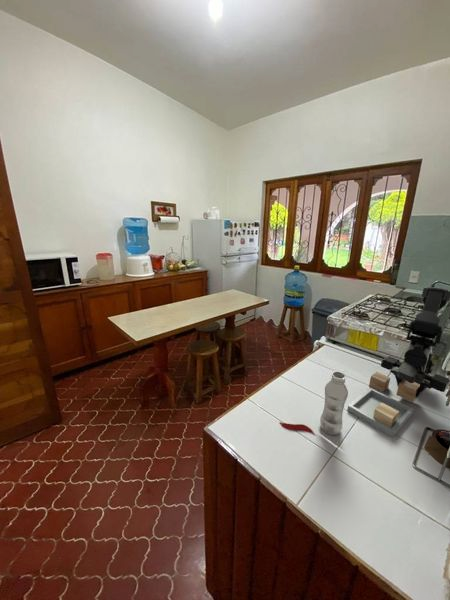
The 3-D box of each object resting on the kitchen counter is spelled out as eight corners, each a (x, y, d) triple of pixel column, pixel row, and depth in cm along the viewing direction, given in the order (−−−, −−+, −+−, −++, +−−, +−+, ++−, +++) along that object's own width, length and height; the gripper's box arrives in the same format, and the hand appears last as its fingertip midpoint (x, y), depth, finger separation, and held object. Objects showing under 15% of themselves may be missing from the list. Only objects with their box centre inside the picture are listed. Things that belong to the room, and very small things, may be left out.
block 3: (401, 389, 92) (404, 378, 91) (417, 396, 89) (421, 384, 87) (396, 394, 90) (399, 383, 88) (412, 402, 86) (415, 390, 84)
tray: (369, 393, 94) (370, 387, 94) (412, 415, 84) (413, 409, 83) (347, 411, 85) (348, 405, 85) (392, 438, 75) (393, 432, 74)
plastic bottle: (340, 424, 80) (349, 370, 74) (342, 441, 74) (352, 384, 68) (318, 419, 82) (326, 366, 76) (319, 435, 76) (327, 379, 70)
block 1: (374, 382, 101) (376, 371, 99) (387, 388, 97) (390, 377, 96) (368, 386, 98) (370, 376, 97) (382, 393, 94) (384, 382, 93)
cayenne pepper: (318, 433, 77) (319, 428, 77) (313, 443, 74) (314, 438, 73) (282, 416, 84) (282, 411, 83) (276, 425, 80) (276, 420, 80)
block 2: (379, 414, 83) (381, 402, 82) (395, 424, 79) (399, 411, 78) (372, 421, 80) (374, 409, 79) (389, 431, 76) (392, 418, 75)
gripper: (377, 350, 87) (370, 387, 91) (445, 375, 72) (432, 418, 77) (391, 341, 93) (383, 377, 98) (456, 363, 79) (443, 403, 83)
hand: (407, 392), depth 89 cm, fingers closed on block 3, 5 cm apart
